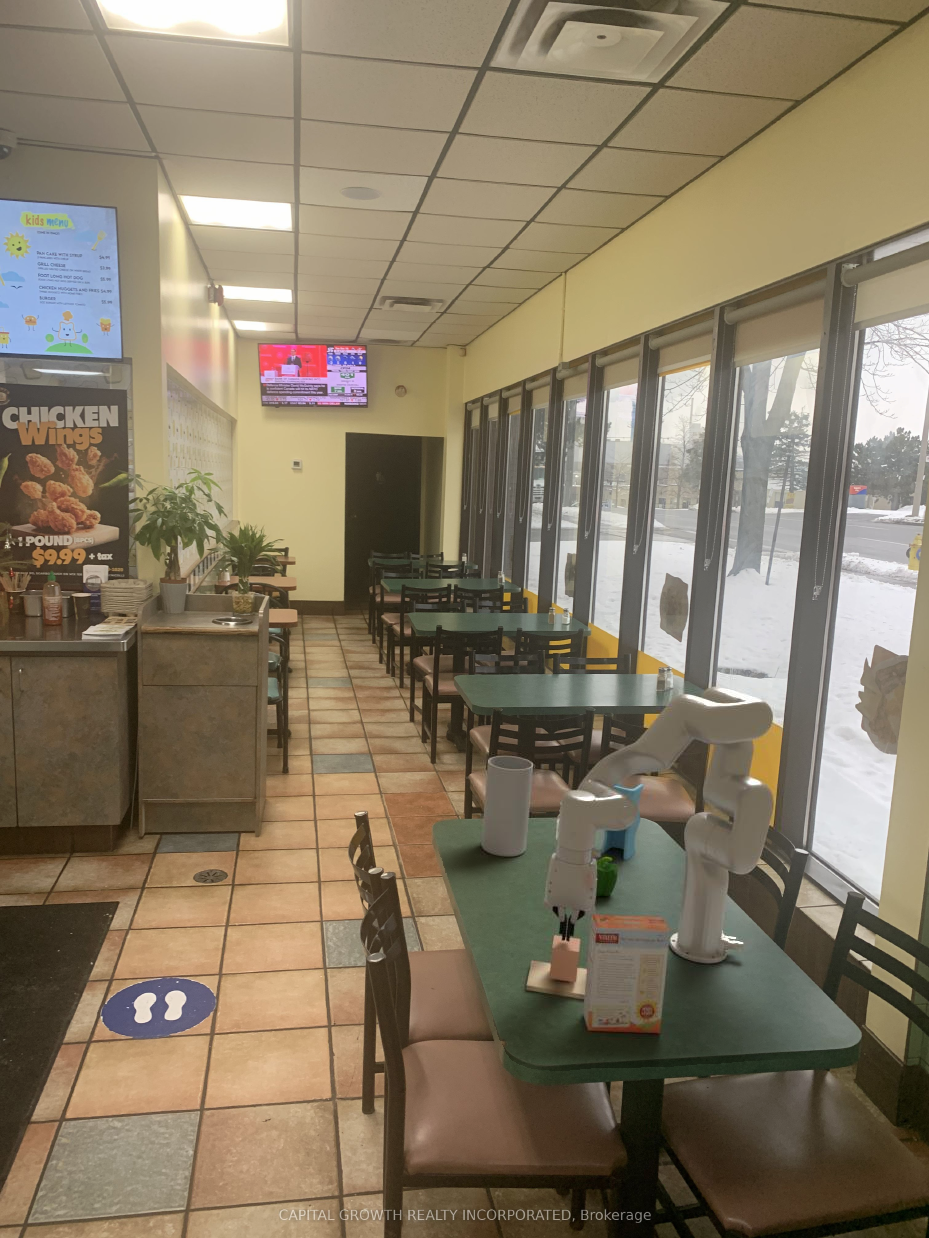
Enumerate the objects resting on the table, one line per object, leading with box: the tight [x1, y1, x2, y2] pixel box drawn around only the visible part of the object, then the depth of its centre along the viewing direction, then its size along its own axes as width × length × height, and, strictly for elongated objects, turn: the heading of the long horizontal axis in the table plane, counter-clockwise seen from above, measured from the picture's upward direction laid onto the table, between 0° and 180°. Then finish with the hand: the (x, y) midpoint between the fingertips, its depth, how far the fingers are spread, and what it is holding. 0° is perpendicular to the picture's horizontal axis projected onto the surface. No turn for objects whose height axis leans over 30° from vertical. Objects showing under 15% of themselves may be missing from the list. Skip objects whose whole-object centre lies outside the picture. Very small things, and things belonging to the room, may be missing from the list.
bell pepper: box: [596, 856, 619, 897], centre depth 226 cm, size 8×8×10 cm
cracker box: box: [582, 913, 671, 1034], centre depth 169 cm, size 14×6×21 cm, turn 92°
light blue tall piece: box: [600, 781, 644, 861], centre depth 253 cm, size 8×8×20 cm
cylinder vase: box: [481, 755, 534, 857], centre depth 249 cm, size 12×12×25 cm
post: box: [525, 960, 587, 1000], centre depth 183 cm, size 14×10×8 cm
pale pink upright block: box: [550, 934, 581, 982], centre depth 183 cm, size 5×5×7 cm
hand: (565, 937), depth 182 cm, fingers closed
